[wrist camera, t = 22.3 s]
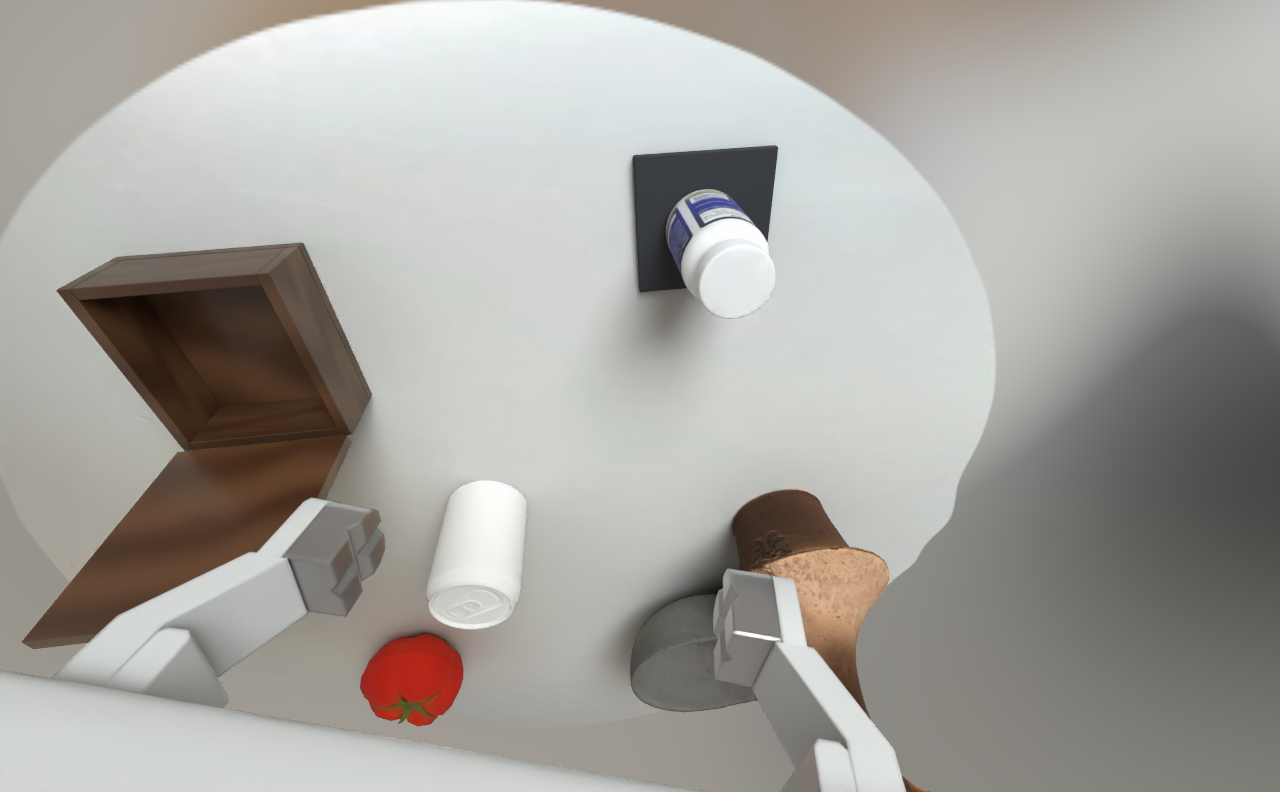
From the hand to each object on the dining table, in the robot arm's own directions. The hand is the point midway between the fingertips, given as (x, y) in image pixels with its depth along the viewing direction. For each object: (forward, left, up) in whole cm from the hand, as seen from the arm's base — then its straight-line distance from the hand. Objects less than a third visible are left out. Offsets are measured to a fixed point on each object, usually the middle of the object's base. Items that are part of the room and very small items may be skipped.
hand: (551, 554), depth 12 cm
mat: (+3, +10, -30) cm, 32 cm away
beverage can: (+31, -12, -31) cm, 45 cm away
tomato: (+58, -27, -31) cm, 71 cm away
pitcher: (+39, +20, -31) cm, 54 cm away
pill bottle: (+3, +10, -30) cm, 32 cm away
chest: (+9, -25, -30) cm, 40 cm away
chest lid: (+16, -25, -17) cm, 34 cm away
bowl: (+57, +11, -31) cm, 66 cm away
